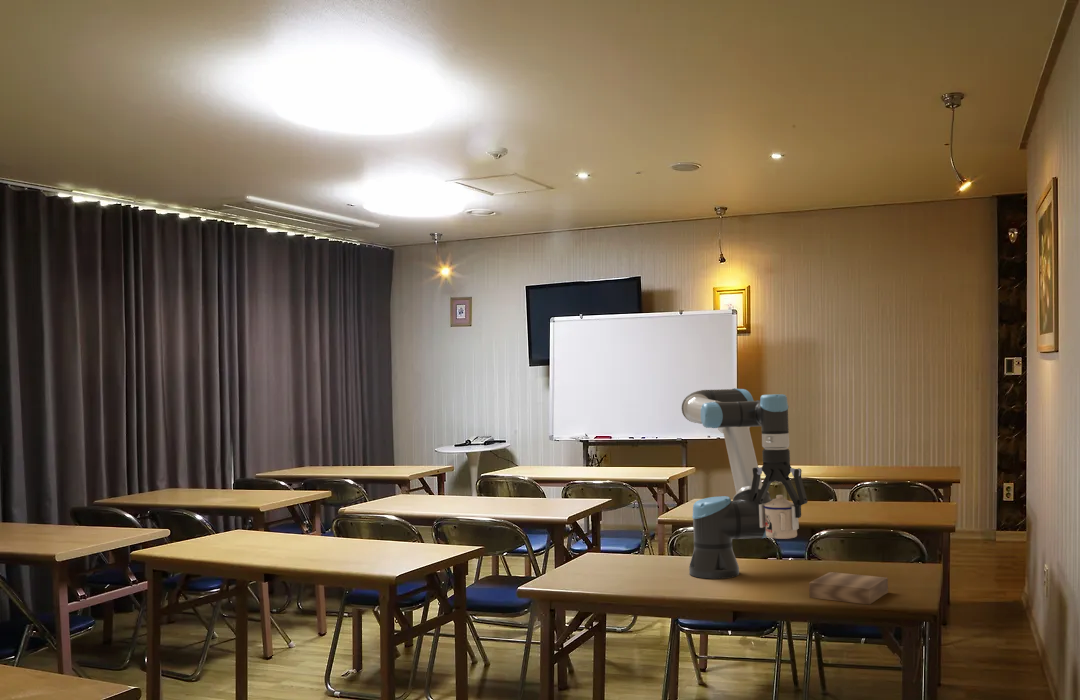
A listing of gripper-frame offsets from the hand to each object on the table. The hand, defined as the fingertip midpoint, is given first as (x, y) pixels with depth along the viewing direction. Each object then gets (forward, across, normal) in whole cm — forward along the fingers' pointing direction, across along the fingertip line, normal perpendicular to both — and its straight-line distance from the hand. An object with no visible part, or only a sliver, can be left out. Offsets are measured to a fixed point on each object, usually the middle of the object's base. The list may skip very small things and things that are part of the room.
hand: (779, 528), depth 255 cm
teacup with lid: (+3, +1, 0) cm, 3 cm away
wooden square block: (+17, +18, +3) cm, 25 cm away
